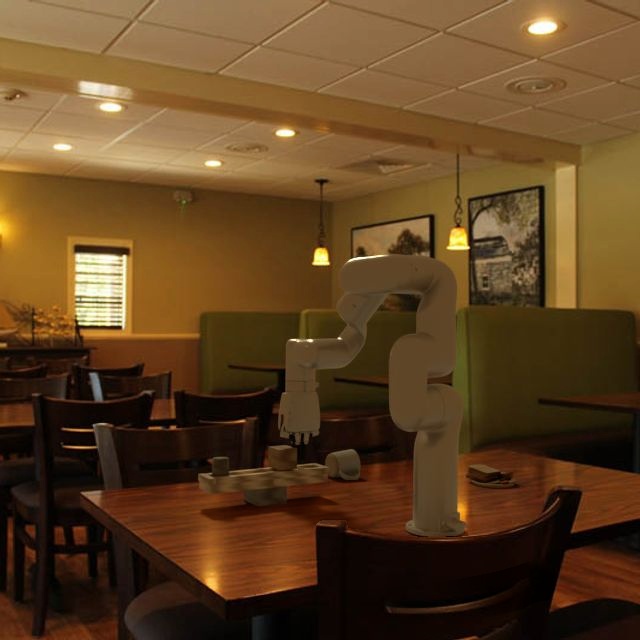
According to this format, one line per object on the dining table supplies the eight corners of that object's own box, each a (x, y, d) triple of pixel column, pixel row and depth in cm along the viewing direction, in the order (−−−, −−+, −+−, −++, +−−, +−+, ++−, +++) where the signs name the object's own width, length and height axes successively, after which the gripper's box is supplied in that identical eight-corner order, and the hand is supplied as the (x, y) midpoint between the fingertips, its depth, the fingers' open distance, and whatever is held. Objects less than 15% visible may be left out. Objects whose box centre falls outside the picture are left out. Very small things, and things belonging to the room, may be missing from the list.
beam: (313, 491, 213) (314, 447, 213) (329, 497, 206) (330, 452, 206) (197, 505, 196) (197, 457, 196) (210, 512, 189) (210, 462, 189)
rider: (285, 471, 207) (285, 445, 207) (296, 475, 202) (297, 448, 202) (268, 473, 205) (268, 446, 205) (278, 477, 200) (279, 450, 200)
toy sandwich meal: (494, 491, 217) (494, 473, 217) (458, 482, 228) (458, 465, 228) (525, 486, 224) (526, 469, 224) (489, 478, 235) (489, 461, 235)
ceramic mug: (323, 475, 235) (323, 449, 234) (346, 473, 239) (347, 447, 239) (343, 483, 226) (343, 455, 225) (367, 480, 230) (367, 453, 230)
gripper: (318, 385, 213) (317, 455, 213) (267, 387, 205) (266, 459, 205) (333, 387, 206) (332, 459, 206) (280, 389, 199) (279, 464, 199)
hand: (299, 459), depth 206 cm, fingers closed
